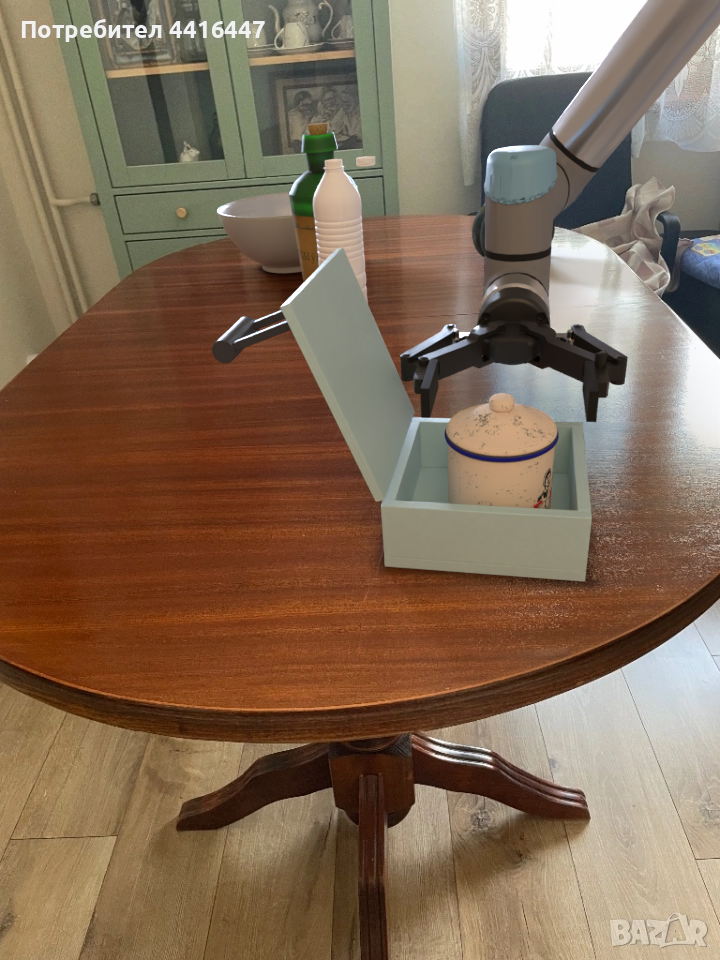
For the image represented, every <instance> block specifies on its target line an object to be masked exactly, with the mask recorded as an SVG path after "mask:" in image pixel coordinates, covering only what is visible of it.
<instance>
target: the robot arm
mask: <svg viewBox="0 0 720 960" xmlns="http://www.w3.org/2000/svg"><path fill="white" fill-rule="evenodd" d="M719 26H720V0H647V1H645V3H644V4H643V6H642V7H641V9H640V10H639V11H638V13H637V14H636V15H635V16H634V17H633V19H632V20H631V22H630V23H629V24H628V25H627V27H626V28H625V30H624V31H623V32H622V34H621V35H620V36H619V37H618V39H617V40H616V42H615V43H614V44H613V46H612V47H611V48H610V50H609V51H608V53H607V54H606V55H605V57H604V58H603V59H602V61H600V63H599V65H598V66H597V67H596V69H595V70H594V71H593V72H592V74H591V75H590V77H589V78H588V79H587V80H586V82H585V83H584V84H583V86H582V87H581V88H580V89H579V91H578V92H577V94H576V95H575V96H574V98H573V99H572V100H571V102H570V103H569V104H568V106H567V107H566V108H565V110H564V111H563V113H562V114H561V115H560V116H559V118H558V119H557V120H556V122H555V123H554V124H553V126H552V127H551V129H550V130H549V132H548V133H547V134H546V135H545V136H544V138H543V139H542V140H541V142H540V143H539V145H537V144H534V145H533V144H531V145H530V144H529V145H526V144H525V145H513V146H506V147H501V148H497V149H494V150H493V151H491V153H489V155H488V157H487V160H486V169H485V180H484V183H483V191H484V204H485V255H484V257H483V258H484V259H483V264H484V265H483V292H482V298H481V303H480V307H479V312H478V317H477V322H476V326H475V327H473V328H472V329H471V330H470V332H468V331H467V332H465V331H463V332H461V331H460V330H459V328H457V325H456V324H453V323H448V324H445V325H444V326H443V328H442V329H441V330H440V331H439V332H438V333H436V334H434V335H432V336H431V337H429V338H427V339H425V340H424V341H421V342H419V343H418V344H416V345H415V346H413V347H411V348H409V349H408V350H406V351H404V352H403V353H401V354H400V356H399V359H400V361H399V362H400V379H401V381H402V382H413V392H414V394H415V395H420V417H421V418H431V416H432V412H433V408H434V405H435V401H436V398H437V394H438V390H439V385H440V384H439V381H441V380H443V379H446V378H449V377H451V376H453V375H455V374H458V373H460V372H462V371H465V370H466V371H467V370H469V369H471V368H473V367H474V368H477V369H482V368H484V367H487V366H489V365H492V364H501V365H505V366H518V365H524V364H525V365H527V364H529V365H532V366H534V367H536V368H538V369H541V370H545V369H547V368H549V369H552V370H554V371H556V372H559V374H563V375H565V376H567V377H569V378H571V379H574V380H576V381H579V382H581V383H582V389H581V390H582V391H581V392H582V398H583V399H582V400H583V407H584V413H585V421H586V423H597V419H598V418H597V416H598V408H599V399H607V397H608V396H609V389H610V384H611V385H614V386H623V385H625V383H626V376H627V369H628V368H627V367H628V360H629V359H628V355H626V354H624V353H622V352H621V351H620V350H617V349H616V348H614V347H613V346H611V345H609V344H607V343H606V342H604V341H602V340H600V339H599V338H597V337H595V336H594V335H593V334H590V333H589V332H588V331H587V330H586V328H585V326H584V325H583V324H578V323H577V324H576V323H575V324H572V325H571V326H570V329H567V331H566V332H557V331H556V330H555V328H553V327H551V311H550V310H551V309H550V299H549V298H550V278H551V277H550V276H551V264H552V263H551V261H552V249H553V248H552V242H553V240H552V229H553V219H554V220H555V219H556V218H557V217H558V216H559V215H560V214H561V213H562V212H563V211H565V210H567V209H568V208H570V207H571V206H572V205H573V204H574V203H575V202H576V200H577V199H578V198H579V197H580V195H581V194H582V193H583V190H584V188H586V186H587V185H588V184H589V182H590V181H591V180H592V179H593V177H594V176H595V175H596V174H597V172H598V171H599V169H600V168H601V167H602V166H603V165H604V164H605V163H606V161H607V160H608V159H609V158H610V157H611V156H612V154H613V153H614V151H615V150H616V149H617V148H618V147H619V146H620V145H621V143H622V142H623V141H624V140H625V139H626V137H627V136H628V135H629V134H630V133H631V131H632V130H633V129H634V128H635V126H636V125H637V124H638V123H639V122H640V121H641V120H642V118H643V117H644V116H645V115H646V113H648V111H649V110H650V109H651V108H652V106H653V105H654V104H655V103H656V101H657V100H658V99H659V98H660V96H661V95H662V94H663V93H664V92H665V91H666V90H667V88H668V87H669V86H670V85H671V83H672V82H673V81H674V80H675V79H676V77H677V76H678V75H679V74H680V73H681V71H683V69H685V67H686V66H687V65H688V63H689V62H690V61H691V60H692V58H694V56H695V55H696V54H697V52H698V51H700V49H701V48H702V47H703V45H705V43H706V42H707V41H708V40H709V38H710V37H711V36H712V35H713V33H714V32H715V31H716V30H717V28H719Z"/></svg>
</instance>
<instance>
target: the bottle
mask: <svg viewBox="0 0 720 960" xmlns="http://www.w3.org/2000/svg"><path fill="white" fill-rule="evenodd" d="M305 126H306V128H307V133H303V134H302V138H301V140H302V141H301V149H300V153H303V154H305V159H306V164H307V165H306V166H307V169H308V170H306V171H304V172H303V173H302V174H301V175H299V177H298V178H297V179H296V180H295V181H294V182H293V184H292V186H291V189H290V190H289V192H290V193H289V198H290V204H291V210H292V216H293V222H294V228H295V234H296V240H297V246H298V252H299V258H300V264H301V270H302V272H301V275H302V280H303V283H304V282H305V281H306V280H307V279H308V278H309V277H310V276H311V275H312V274H313V273H314V272H315V270H316V269H317V268H318V267H319V262H318V257H319V256H318V249H317V237H316V230H315V226H316V225H315V218H314V212H313V197H314V194H315V192H316V189H317V187H318V185H319V183H320V181H321V179H322V177H323V175H324V173H325V169H324V167H325V160H330V159H335V151H337V150H338V149H339V147H338V143H337V139H336V136H335V132H334V131H329V122H313V123H307V124H306V125H305ZM346 175H347V176H348V178H349V179H350V180H351V182H352V183H353V184H354V186H355V187H356V189H357V190H358V191H359V189H358V185H357V184H356V182H355V180H354V179H353V178H352V177H351V176H350V175H348V174H347V173H346Z"/></svg>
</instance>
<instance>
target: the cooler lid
mask: <svg viewBox="0 0 720 960" xmlns="http://www.w3.org/2000/svg"><path fill="white" fill-rule="evenodd" d="M283 320H284V321H283ZM278 322H279V323H278ZM276 323H277V324H276ZM273 324H274V325H273ZM268 326H269V327H268ZM265 327H267V328H265ZM289 331H291V333H292V335H293V337H294V339H295V341H296V343H297V345H298V347H299V349H300V351H301V353H302V355H303V358H304V359H305V362H306V363H307V366H308V368H309V370H310V371H311V374H312V375H313V377H314V380H315V382H316V384H317V386H318V388H319V390H320V392H321V394H322V396H323V398H324V400H325V403H326V404H327V406H328V408H329V410H330V413H331V414H332V416H333V418H334V420H335V422H336V424H337V426H338V428H339V430H340V432H341V434H342V436H343V438H344V441H345V443H346V445H347V447H348V449H349V451H350V452H351V455H352V457H353V459H354V461H355V463H356V465H357V467H358V469H359V471H360V473H361V475H362V478H363V479H364V482H365V484H366V485H367V487H368V489H369V492H370V494H371V496H372V497H373V499H374V501H375V503H378V502H382V501H383V500H385V497H386V494H387V491H388V488H389V485H390V482H391V479H392V476H393V473H394V470H395V467H396V465H397V462H398V459H399V456H400V453H401V450H402V447H403V444H404V441H405V438H406V435H407V432H408V429H409V427H410V424H411V421H412V418H413V417H414V415H415V409H414V406H413V403H412V402H411V400H410V397H409V395H408V393H407V390H406V387H405V386H404V384H403V381H402V380H401V376H400V375H399V373H398V370H397V367H396V365H395V363H394V361H393V359H392V356H391V354H390V352H389V349H388V347H387V345H386V342H385V340H384V338H383V335H382V333H381V331H380V329H379V326H378V324H377V321H376V319H375V318H374V315H373V313H372V311H371V308H370V306H369V303H368V304H367V301H366V299H365V297H364V294H363V292H362V290H361V288H360V285H359V283H358V281H357V278H356V276H355V274H354V272H353V269H352V267H351V265H350V262H349V260H348V258H347V256H346V253H345V251H344V249H343V247H341V248H339V249H336V250H335V251H334V252H333V253H332V254H331V255H330V256H329V257H328V258H327V259H326V260H325V261H324V262H323V263H322V264H321V265H320V266H319V267H318V268H317V269H316V270H315V272H314V273H313V274H312V275H311V276H310V277H309V278H308V279H307V280H306V281H305V282H303V283H302V284H301V285H299V287H298V288H297V289H296V290H295V291H294V292H293V293H292V294H291V295H290V296H289V297H288V298H287V299H286V300H285V302H284V303H282V305H281V306H280V307H279V310H278V311H275V312H273V313H271V314H268V315H265V316H263V317H260V318H258V319H255V318H253V317H251V316H246V315H245V316H242V317H240V318H239V319H238V320H237V321H236V322H235V323H234V324H233V325H232V326H231V327H229V329H227V331H225V332H224V333H223V334H222V335H221V336H220V337H219V338H218V339H217V340H215V342H214V343H213V344H212V346H211V353H212V356H213V357H214V359H215V360H216V361H217V362H219V363H221V364H230V363H232V362H233V361H234V360H235V359H236V358H237V357H238V356H239V355H240V354H241V353H242V352H243V351H244V350H245V349H246V348H248V347H251V346H253V345H256V344H258V343H260V342H264V341H267V340H268V339H272V338H273V337H277V336H279V335H282V334H285V333H286V332H289Z"/></svg>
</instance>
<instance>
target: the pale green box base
mask: <svg viewBox="0 0 720 960" xmlns="http://www.w3.org/2000/svg"><path fill="white" fill-rule="evenodd" d="M451 418H452V417H451ZM451 418H450V417H449V418H448V417H430V418H421V416H420V417H419V416H413V418H412V421H411V424H410V427H409V429H408V432H407V435H406V438H405V441H404V444H403V447H402V450H401V453H400V456H399V459H398V462H397V465H396V467H395V470H394V473H393V476H392V479H391V482H390V485H389V488H388V491H387V494H386V497H385V500H382V501H381V505H380V516H381V530H382V531H381V532H382V546H383V547H382V549H383V561H384V562H383V563H384V567H386V568H401V569H411V570H412V569H413V570H427V571H439V572H453V573H466V574H478V575H479V574H480V575H491V576H492V575H493V576H503V577H504V576H505V577H517V578H518V577H519V578H532V579H543V580H544V579H546V580H559V581H572V582H584V583H585V582H586V577H587V568H588V558H589V548H590V541H591V532H592V524H593V523H592V522H593V514H592V503H591V495H590V484H589V483H590V482H589V474H588V464H587V453H586V444H585V432H584V423H583V422H582V421H557V420H553V421H554V422H555V424H556V426H557V430H558V433H559V438H558V441H557V443H556V445H555V450H554V464H553V478H552V491H551V505H550V509H539V508H521V507H503V506H485V505H467V504H449V503H448V443H447V442H446V440H445V429H446V427H447V424H448V422H449V421H450V419H451Z"/></svg>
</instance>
